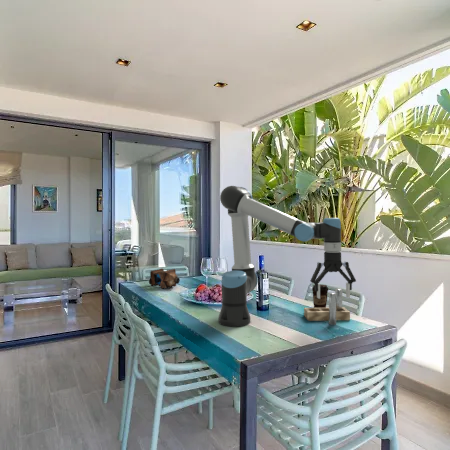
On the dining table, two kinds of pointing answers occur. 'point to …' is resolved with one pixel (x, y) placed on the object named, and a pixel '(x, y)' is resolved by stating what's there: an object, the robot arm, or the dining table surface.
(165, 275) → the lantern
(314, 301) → the coffee cup
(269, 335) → the dining table surface
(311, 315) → the hole block
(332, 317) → the peg
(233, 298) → the robot arm
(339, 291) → the peg right
